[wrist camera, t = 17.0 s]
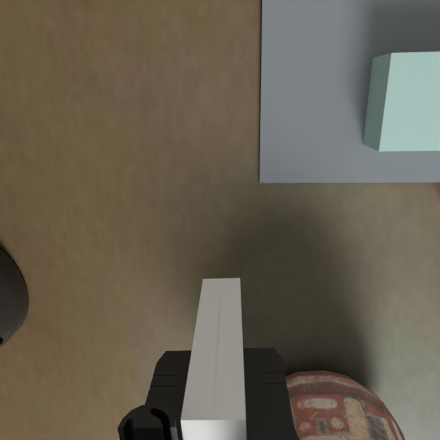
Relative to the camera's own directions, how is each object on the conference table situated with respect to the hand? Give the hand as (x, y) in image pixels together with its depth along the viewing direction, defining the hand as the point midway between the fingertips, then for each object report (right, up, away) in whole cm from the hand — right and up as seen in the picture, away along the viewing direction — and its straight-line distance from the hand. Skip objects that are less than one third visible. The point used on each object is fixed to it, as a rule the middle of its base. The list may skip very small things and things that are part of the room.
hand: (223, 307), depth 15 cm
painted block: (+12, +13, +14) cm, 23 cm away
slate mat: (+13, +15, +16) cm, 25 cm away
